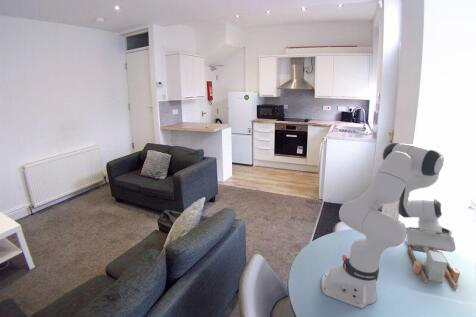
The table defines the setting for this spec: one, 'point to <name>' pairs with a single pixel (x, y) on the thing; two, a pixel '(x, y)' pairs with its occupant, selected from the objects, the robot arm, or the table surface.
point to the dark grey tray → (418, 248)
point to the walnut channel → (415, 258)
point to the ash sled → (445, 274)
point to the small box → (435, 266)
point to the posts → (454, 272)
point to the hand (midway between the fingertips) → (430, 257)
